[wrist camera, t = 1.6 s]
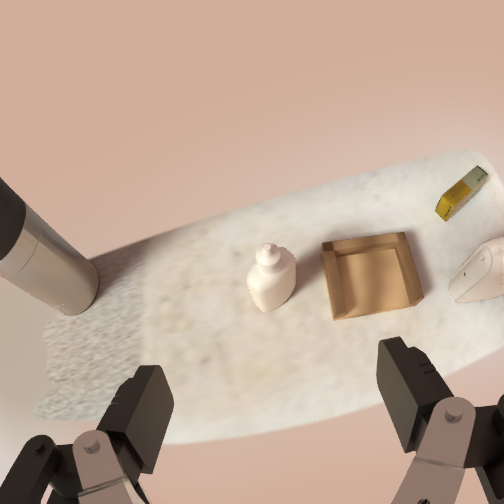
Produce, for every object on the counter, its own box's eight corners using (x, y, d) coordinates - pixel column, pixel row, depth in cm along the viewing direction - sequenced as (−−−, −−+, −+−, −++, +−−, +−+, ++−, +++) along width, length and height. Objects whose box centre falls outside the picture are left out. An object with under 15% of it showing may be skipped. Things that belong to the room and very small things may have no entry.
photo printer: (450, 307, 35) (499, 267, 24) (444, 277, 37) (486, 229, 26) (505, 297, 33) (555, 259, 23) (498, 270, 35) (543, 226, 25)
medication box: (469, 179, 43) (477, 163, 40) (480, 189, 42) (489, 174, 39) (433, 211, 42) (441, 194, 38) (445, 223, 40) (454, 207, 37)
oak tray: (333, 320, 36) (336, 313, 34) (320, 254, 41) (322, 242, 38) (415, 305, 36) (423, 297, 33) (398, 243, 40) (404, 231, 37)
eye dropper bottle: (249, 283, 40) (231, 235, 29) (291, 271, 40) (289, 219, 29) (257, 315, 38) (242, 277, 27) (302, 302, 38) (304, 259, 27)
